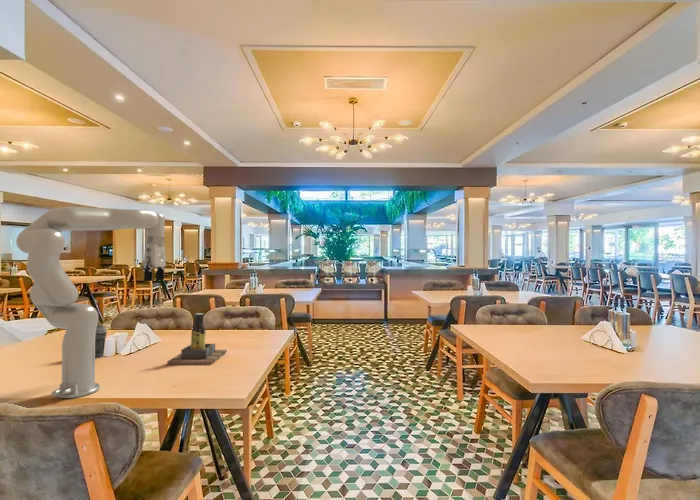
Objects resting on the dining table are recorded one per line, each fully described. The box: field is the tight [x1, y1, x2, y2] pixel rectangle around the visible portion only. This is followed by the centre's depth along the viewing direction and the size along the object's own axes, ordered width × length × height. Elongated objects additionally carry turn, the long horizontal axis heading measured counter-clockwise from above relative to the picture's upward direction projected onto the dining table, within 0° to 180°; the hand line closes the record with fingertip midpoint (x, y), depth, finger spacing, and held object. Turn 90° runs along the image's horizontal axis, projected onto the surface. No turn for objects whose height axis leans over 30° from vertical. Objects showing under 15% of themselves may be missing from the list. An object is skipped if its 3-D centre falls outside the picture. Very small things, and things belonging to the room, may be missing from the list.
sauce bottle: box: [190, 312, 207, 349], centre depth 171 cm, size 6×6×20 cm
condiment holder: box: [166, 343, 228, 366], centre depth 171 cm, size 20×20×6 cm
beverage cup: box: [95, 324, 108, 359], centre depth 174 cm, size 7×7×20 cm
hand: (154, 280), depth 158 cm, fingers open, 9 cm apart
